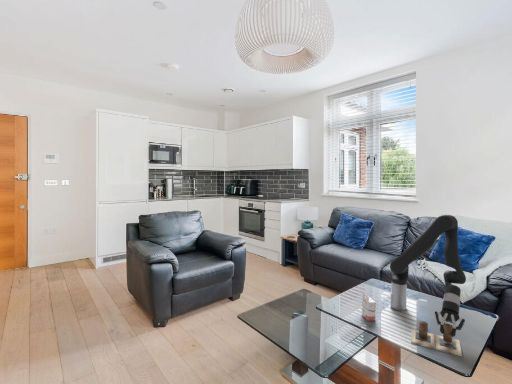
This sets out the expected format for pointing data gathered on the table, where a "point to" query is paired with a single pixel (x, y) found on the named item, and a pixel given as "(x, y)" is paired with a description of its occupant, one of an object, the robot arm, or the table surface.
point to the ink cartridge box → (368, 308)
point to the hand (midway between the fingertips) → (447, 334)
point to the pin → (423, 329)
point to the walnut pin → (447, 333)
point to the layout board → (436, 343)
